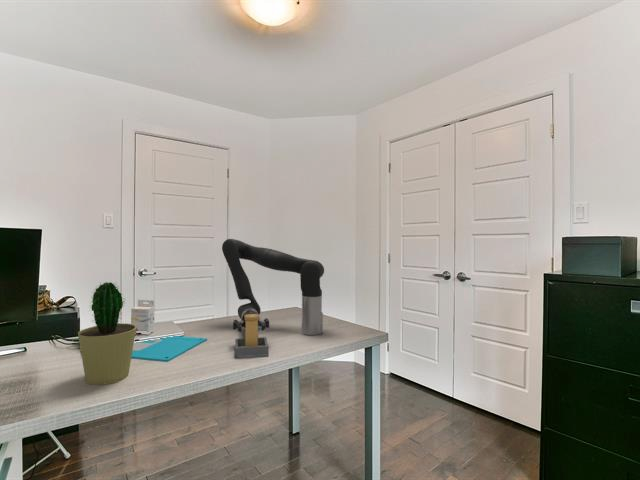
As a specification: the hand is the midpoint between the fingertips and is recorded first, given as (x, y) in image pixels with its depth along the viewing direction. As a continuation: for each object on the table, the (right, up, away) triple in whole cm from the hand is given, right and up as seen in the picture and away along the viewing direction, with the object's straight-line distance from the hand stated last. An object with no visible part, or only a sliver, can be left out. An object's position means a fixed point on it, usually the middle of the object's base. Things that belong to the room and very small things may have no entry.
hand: (251, 328), depth 130 cm
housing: (0, -9, 0) cm, 9 cm away
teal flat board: (-38, -9, +4) cm, 39 cm away
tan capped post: (0, -8, 0) cm, 8 cm away
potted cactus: (-39, -9, -25) cm, 48 cm away
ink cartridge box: (-54, -8, +23) cm, 59 cm away
